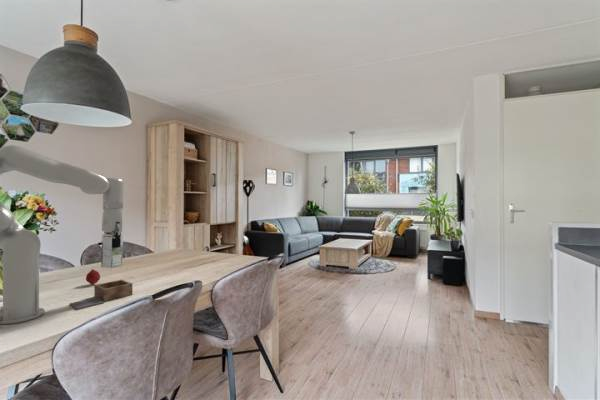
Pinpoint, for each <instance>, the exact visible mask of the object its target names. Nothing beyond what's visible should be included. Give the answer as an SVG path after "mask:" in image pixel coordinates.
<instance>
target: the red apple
mask: <svg viewBox="0 0 600 400" xmlns="http://www.w3.org/2000/svg"><path fill="white" fill-rule="evenodd" d="M100 279H101V275H100V273H99V272H98V271H97V270H95V269H94V268H91V270H90V271H89V272H88V273H87V274H86V276H85V281H86V282H87V283H89V284H90V285H92V286H94V285H96V284H97V283H98V282H99V281H100Z"/></svg>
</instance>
